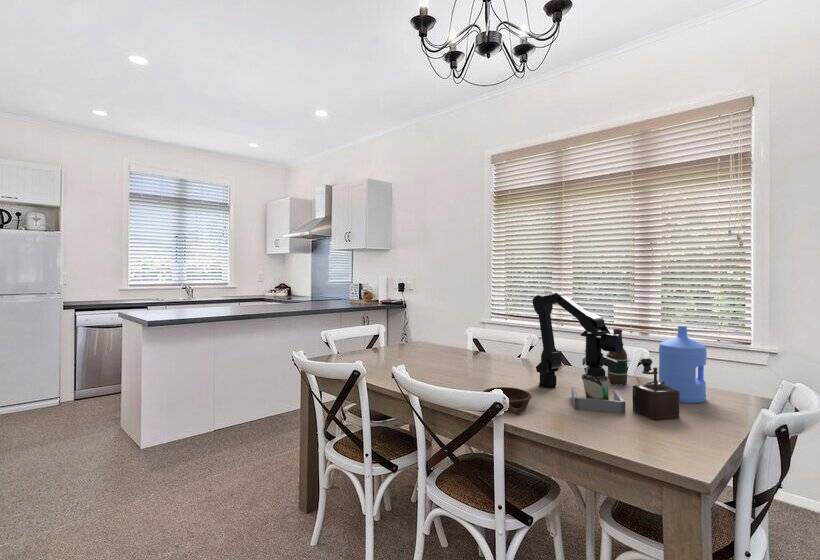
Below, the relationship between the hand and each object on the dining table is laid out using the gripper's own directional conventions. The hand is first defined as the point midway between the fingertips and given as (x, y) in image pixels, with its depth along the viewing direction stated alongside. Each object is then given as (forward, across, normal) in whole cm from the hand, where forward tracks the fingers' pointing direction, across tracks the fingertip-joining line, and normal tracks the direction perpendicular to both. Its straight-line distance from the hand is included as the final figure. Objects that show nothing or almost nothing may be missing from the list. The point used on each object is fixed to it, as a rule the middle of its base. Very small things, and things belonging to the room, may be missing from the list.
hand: (592, 388), depth 163 cm
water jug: (+4, +10, -33) cm, 35 cm away
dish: (+4, -19, +32) cm, 37 cm away
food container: (+3, -7, -2) cm, 8 cm away
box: (+4, -8, 0) cm, 9 cm away
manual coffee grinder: (+4, -12, -17) cm, 22 cm away
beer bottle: (+4, +27, -13) cm, 30 cm away
